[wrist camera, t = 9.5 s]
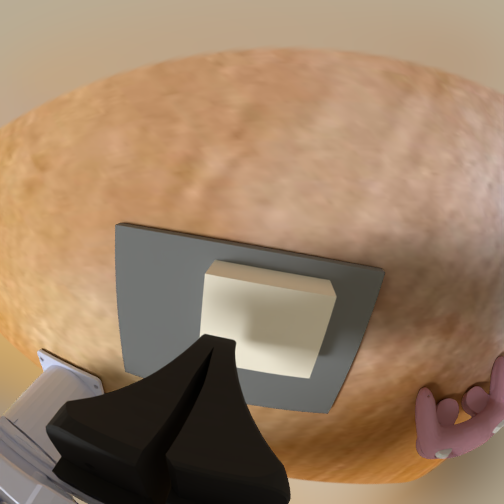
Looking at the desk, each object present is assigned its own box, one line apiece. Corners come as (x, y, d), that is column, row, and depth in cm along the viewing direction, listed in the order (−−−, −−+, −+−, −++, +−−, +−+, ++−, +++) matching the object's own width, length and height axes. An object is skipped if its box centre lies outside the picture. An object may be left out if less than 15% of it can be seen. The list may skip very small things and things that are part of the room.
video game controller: (402, 402, 19) (413, 473, 14) (417, 386, 16) (432, 471, 11) (487, 370, 17) (502, 431, 12) (508, 349, 14) (529, 418, 9)
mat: (327, 407, 17) (327, 413, 17) (128, 367, 18) (125, 371, 18) (381, 268, 14) (385, 272, 14) (120, 222, 15) (115, 224, 14)
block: (207, 338, 16) (307, 356, 15) (198, 359, 14) (309, 378, 14) (215, 259, 14) (330, 280, 14) (205, 273, 12) (336, 296, 12)
